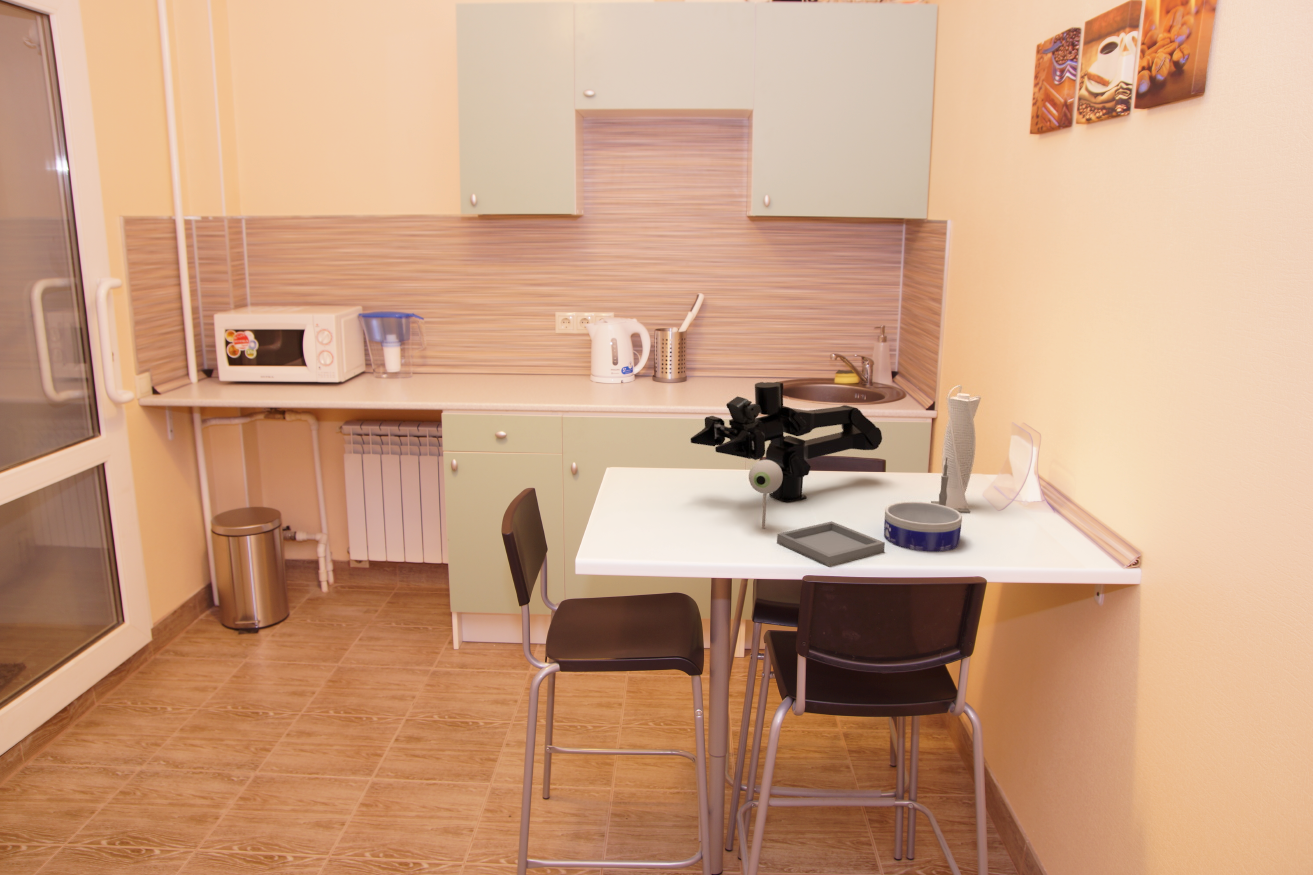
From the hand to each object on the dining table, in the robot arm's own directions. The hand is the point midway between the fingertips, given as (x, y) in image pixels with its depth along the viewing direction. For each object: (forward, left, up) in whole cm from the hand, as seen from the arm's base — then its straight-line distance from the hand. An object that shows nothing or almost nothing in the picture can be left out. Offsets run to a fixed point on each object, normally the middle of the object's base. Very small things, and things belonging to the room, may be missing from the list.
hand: (703, 445), depth 198 cm
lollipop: (-6, +14, -16) cm, 22 cm away
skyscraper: (-53, +25, -16) cm, 61 cm away
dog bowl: (-30, +36, -16) cm, 50 cm away
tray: (-10, +30, -16) cm, 35 cm away
